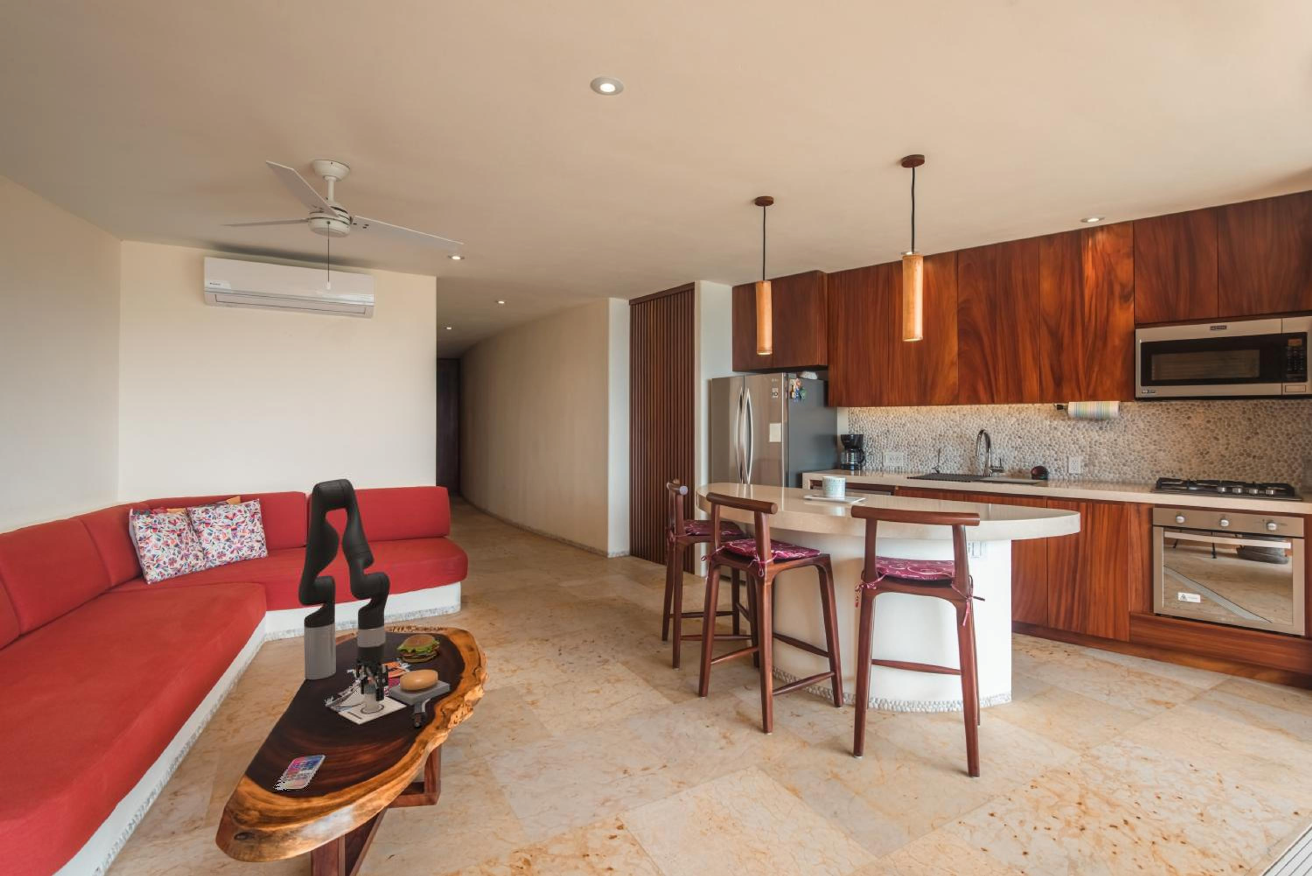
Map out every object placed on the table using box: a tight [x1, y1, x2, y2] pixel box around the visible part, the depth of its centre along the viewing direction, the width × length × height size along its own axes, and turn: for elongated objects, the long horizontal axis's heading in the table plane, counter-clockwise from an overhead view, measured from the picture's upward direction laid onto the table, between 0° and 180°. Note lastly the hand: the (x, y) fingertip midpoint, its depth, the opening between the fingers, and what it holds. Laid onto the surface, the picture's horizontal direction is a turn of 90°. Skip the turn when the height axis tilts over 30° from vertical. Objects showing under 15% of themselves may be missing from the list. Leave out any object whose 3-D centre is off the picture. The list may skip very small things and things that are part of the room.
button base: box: [387, 679, 451, 706], centre depth 192 cm, size 13×13×2 cm
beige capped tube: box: [363, 681, 380, 711], centre depth 180 cm, size 4×4×7 cm
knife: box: [411, 698, 431, 728], centre depth 180 cm, size 26×2×5 cm
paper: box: [337, 695, 407, 725], centre depth 180 cm, size 12×14×1 cm
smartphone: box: [275, 754, 326, 790], centre depth 145 cm, size 7×1×15 cm
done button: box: [399, 669, 439, 690], centre depth 192 cm, size 11×11×2 cm
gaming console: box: [336, 685, 391, 712], centre depth 190 cm, size 22×1×10 cm
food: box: [397, 633, 440, 663], centre depth 224 cm, size 14×14×8 cm
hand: (372, 697), depth 180 cm, fingers open, 8 cm apart
